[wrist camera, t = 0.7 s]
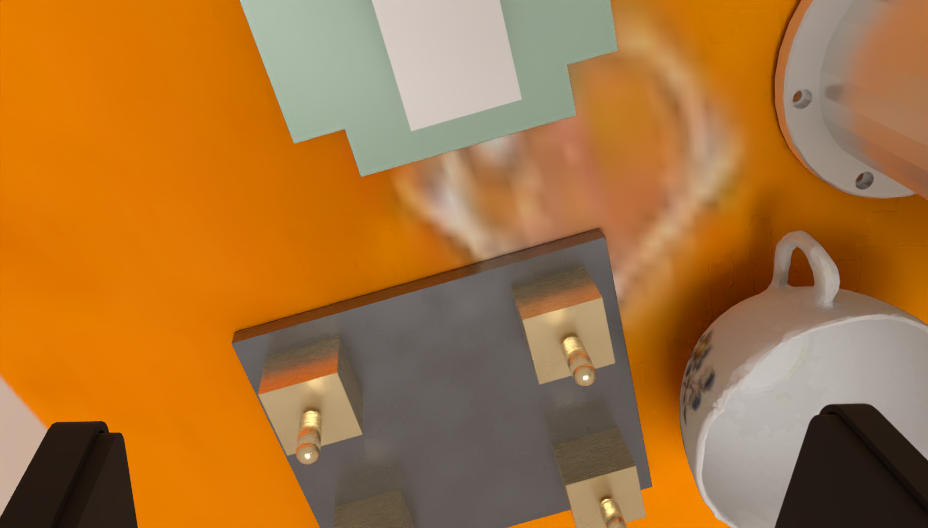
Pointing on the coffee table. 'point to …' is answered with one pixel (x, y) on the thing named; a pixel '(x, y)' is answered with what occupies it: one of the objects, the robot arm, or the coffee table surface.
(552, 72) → the circuit board
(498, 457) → the chassis
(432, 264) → the coffee table surface
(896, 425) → the teacup
